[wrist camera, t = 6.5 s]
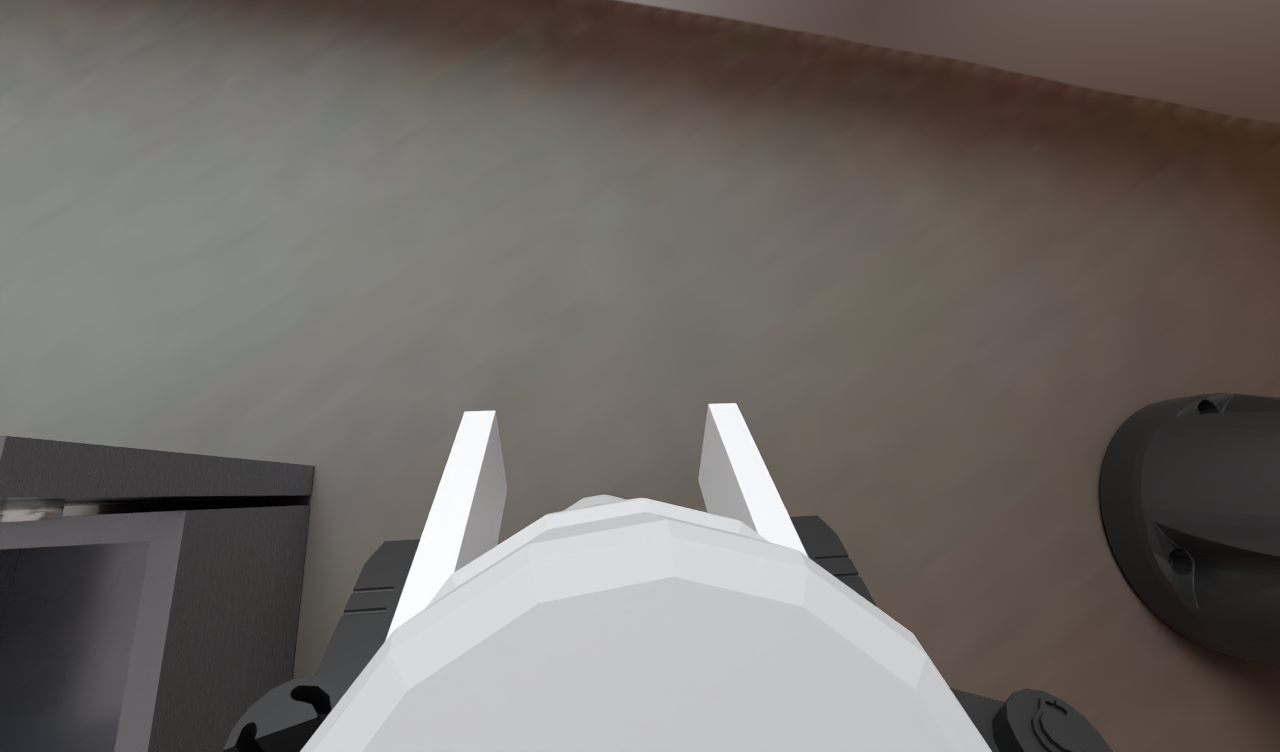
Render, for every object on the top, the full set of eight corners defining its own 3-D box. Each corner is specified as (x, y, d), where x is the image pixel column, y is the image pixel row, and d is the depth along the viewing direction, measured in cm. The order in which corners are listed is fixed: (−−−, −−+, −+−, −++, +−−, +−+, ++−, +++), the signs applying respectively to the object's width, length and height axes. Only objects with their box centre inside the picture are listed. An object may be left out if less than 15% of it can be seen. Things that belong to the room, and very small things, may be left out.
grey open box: (287, 723, 23) (-150, 1055, 9) (50, 745, 22) (-828, 1155, 8) (314, 465, 26) (5, 436, 12) (104, 474, 25) (-490, 452, 11)
